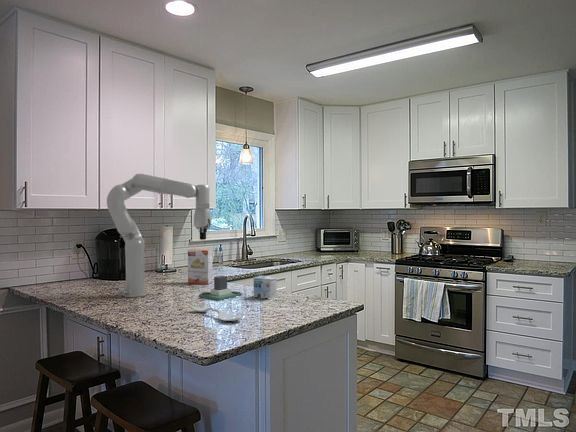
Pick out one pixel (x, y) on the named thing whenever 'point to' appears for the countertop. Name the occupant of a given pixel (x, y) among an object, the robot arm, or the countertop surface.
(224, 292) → the board
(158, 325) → the countertop surface
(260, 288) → the light bulb box
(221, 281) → the plug
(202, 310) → the spoon
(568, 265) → the countertop surface
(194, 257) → the cracker box
